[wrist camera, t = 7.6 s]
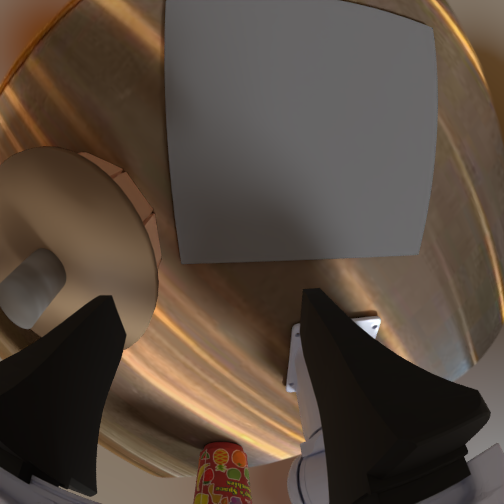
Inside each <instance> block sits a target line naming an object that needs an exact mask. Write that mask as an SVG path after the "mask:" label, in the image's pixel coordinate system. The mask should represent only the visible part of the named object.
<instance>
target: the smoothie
mask: <svg viewBox="0 0 504 504" xmlns="http://www.w3.org/2000/svg"><path fill="white" fill-rule="evenodd" d="M193 504H252V499H251V490H250V482H249V473H248V463H247V455H246V454H245V453H244V452H243V448H242V447H241V446H239V445H237V444H234V443H229V442H213V443H209V444H207V445H206V446H205V447H204V450H203V451H202V452H201V453H200V459H199V466H198V473H197V481H196V488H195V495H194V503H193Z"/></svg>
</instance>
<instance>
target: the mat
mask: <svg viewBox="0 0 504 504" xmlns="http://www.w3.org/2000/svg"><path fill="white" fill-rule="evenodd" d="M165 103H166V124H167V140H168V153H169V165H170V176H171V186H172V196H173V205H174V213H175V221H176V229H177V236H178V243H179V250H180V257H181V264H199V263H231V262H261V261H288V260H314V259H338V258H361V257H383V256H404V255H418V254H419V250H420V245H421V241H422V237H423V232H424V227H425V222H426V217H427V212H428V206H429V200H430V194H431V187H432V179H433V171H434V162H435V152H436V138H437V116H438V85H437V64H436V52H435V42H434V34H433V28H431V27H429V26H426V25H424V24H421V23H419V22H416V21H413V20H410V19H408V18H405V17H402V16H399V15H396V14H392V13H389V12H386V11H382V10H379V9H375V8H371V7H367V6H363V5H359V4H355V3H350V2H345V1H340V0H166V11H165Z"/></svg>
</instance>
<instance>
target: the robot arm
mask: <svg viewBox="0 0 504 504" xmlns="http://www.w3.org/2000/svg"><path fill="white" fill-rule="evenodd" d="M380 323H381V319H380V317H379V316H371V317H363V318H354V319H351V318H350V317H348V316H347V315H346V314H345V313H344V312H343V311H342V310H341V309H340V308H339V307H338V306H337V305H336V304H335V303H334V302H333V301H332V300H331V299H330V298H329V297H328V296H327V295H326V294H325V293H324V292H323V291H322V290H321V289H320V288H314V289H303V296H302V309H301V321H300V323H298V324H295V325H294V326H293V327H292V334H291V345H290V354H289V364H288V373H287V382H286V391H287V392H296V394H297V399H298V405H299V411H300V417H301V423H302V429H303V434H304V438H305V440H306V442H303V443H301V444H300V446H301V453H302V455H301V456H298V457H297V458H296V459H295V460H294V461H293V463H292V465H291V468H290V471H289V474H288V481H287V486H288V493H289V497H290V500H291V503H292V504H504V453H503V451H502V449H501V447H500V445H499V443H496V444H494V445H493V446H491V447H490V448H489V449H487V450H485V451H484V452H482V453H481V454H479V455H477V456H476V457H474V458H473V459H471V460H470V461H468V462H467V463H466V461H465V458H464V456H465V455H466V454H468V450H467V447H466V445H465V444H466V443H467V442H468V441H469V440H470V439H471V438H472V437H473V436H474V435H476V433H478V432H479V431H480V429H482V427H483V426H484V425H485V424H486V423H487V421H488V420H489V418H490V413H491V412H490V410H489V409H488V407H487V405H486V403H485V402H484V400H483V398H482V397H481V395H480V393H479V391H478V390H475V389H472V388H469V387H466V386H463V385H460V384H456V383H454V382H451V381H448V380H446V379H444V378H441V377H439V376H437V375H434V374H432V373H430V372H428V371H426V370H424V369H422V368H420V367H418V366H416V365H414V364H413V363H411V362H409V361H407V360H405V359H404V358H402V357H400V356H399V355H397V354H396V353H394V352H393V351H391V350H390V349H388V348H387V347H385V346H384V345H382V344H381V343H380V342H378V341H377V340H376V339H375V338H376V335H377V332H378V329H379V326H380ZM297 333H299V334H297ZM126 336H127V334H126V332H125V329H124V327H123V324H122V322H121V319H120V316H119V314H118V311H117V308H116V305H115V302H114V300H113V297H112V295H99V296H97V297H95V298H94V299H92V300H91V301H89V302H88V303H87V304H85V305H84V306H83V307H81V308H80V309H79V310H77V311H76V312H75V313H73V314H72V315H71V316H70V317H68V318H67V319H66V320H64V321H63V322H62V323H61V324H59V325H58V326H56V327H55V328H54V329H52V330H51V331H50V332H48V333H47V334H46V335H44V336H43V337H42V338H40V339H39V340H37V341H36V342H34V343H33V344H31V345H29V346H28V347H26V348H25V349H23V350H21V351H20V352H18V353H16V354H14V355H12V356H10V357H8V358H6V359H4V360H2V361H1V362H0V504H101V503H98V502H94V501H92V500H89V499H86V498H83V497H80V496H78V495H75V494H73V493H70V492H68V491H66V490H63V489H61V488H59V486H61V487H63V488H65V489H71V490H73V491H76V492H79V493H81V494H84V495H87V496H90V497H91V496H94V495H95V494H97V485H96V457H97V444H98V436H99V428H100V423H101V417H102V412H103V408H104V404H105V401H106V398H107V395H108V392H109V389H110V387H111V384H112V381H113V379H114V376H115V373H116V370H117V368H118V365H119V362H120V360H121V357H122V353H123V349H124V345H125V340H126Z"/></svg>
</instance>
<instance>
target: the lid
mask: <svg viewBox="0 0 504 504" xmlns="http://www.w3.org/2000/svg"><path fill="white" fill-rule="evenodd" d="M158 284H159V280H158V268H157V263H156V258H155V253H154V250H153V247H152V244H151V241H150V238H149V235H148V232H147V230H146V228H145V226H144V224H143V221H142V219H141V217H140V216H139V214H138V212H137V211H136V209H135V207H134V206H133V204H132V202H131V201H130V200H129V198H128V197H127V196H126V194H125V193H124V191H123V190H122V189H121V188H120V186H119V185H118V184H117V183H116V182H115V181H114V180H113V179H112V178H111V177H110V176H109V175H108V174H107V173H106V172H105V171H103V170H102V169H101V168H100V167H99V166H97V165H96V164H95V163H93V162H92V161H90V160H88V159H87V158H85V157H84V156H82V155H80V154H77V153H75V152H73V151H70V150H67V149H63V148H59V147H49V146H43V147H36V148H31V149H28V150H25V151H22V152H19V153H17V154H14V155H13V156H11V157H10V158H8V159H7V160H5V161H4V162H3V163H2V164H1V165H0V306H1V308H2V310H3V311H4V313H5V314H6V315H7V317H8V318H9V319H10V320H11V321H12V322H13V323H15V324H16V325H18V326H19V327H21V328H24V329H31V330H32V331H34V332H35V333H36V334H38V335H39V336H41V337H43V336H44V335H46V334H47V333H48V332H50V331H51V330H52V329H54V328H55V327H56V326H58V325H59V324H61V323H62V322H63V321H64V320H66V319H67V318H68V317H70V316H71V315H72V314H73V313H75V312H76V311H77V310H79V309H80V308H81V307H83V306H84V305H85V304H87V303H88V302H89V301H91V300H92V299H94V298H95V297H97V296H99V295H112V297H113V300H114V302H115V305H116V308H117V311H118V314H119V316H120V319H121V322H122V324H123V327H124V329H125V332H126V334H127V336H126V340H125V345H124V349H123V350H125V349H127V348H129V347H130V346H132V345H133V344H134V343H136V342H137V341H138V340H139V339H140V337H141V336H142V335H143V334H144V332H145V331H146V329H147V327H148V325H149V323H150V320H151V318H152V315H153V312H154V310H155V307H156V302H157V297H158Z"/></svg>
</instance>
